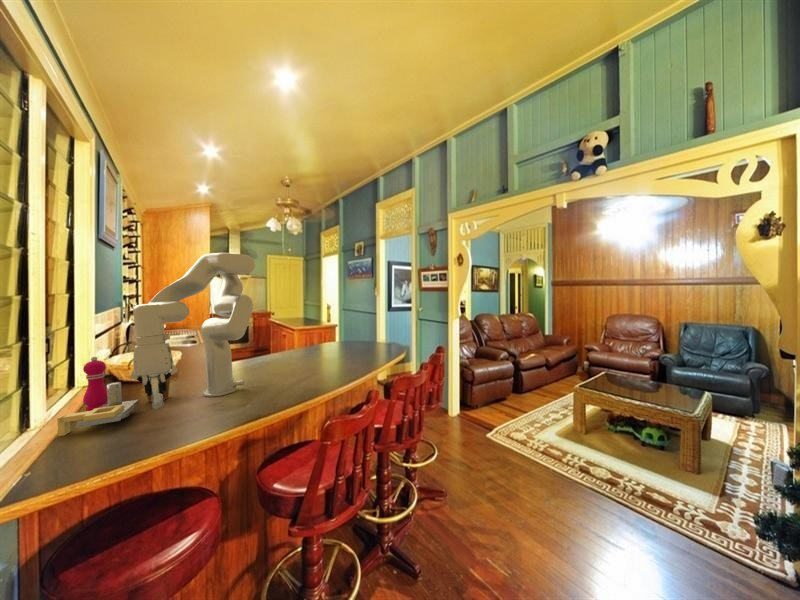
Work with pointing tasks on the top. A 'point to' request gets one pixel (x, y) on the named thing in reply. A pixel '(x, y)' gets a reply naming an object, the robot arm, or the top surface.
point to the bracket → (86, 417)
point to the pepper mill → (95, 384)
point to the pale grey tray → (113, 400)
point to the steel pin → (155, 391)
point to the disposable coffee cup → (165, 395)
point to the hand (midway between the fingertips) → (156, 393)
